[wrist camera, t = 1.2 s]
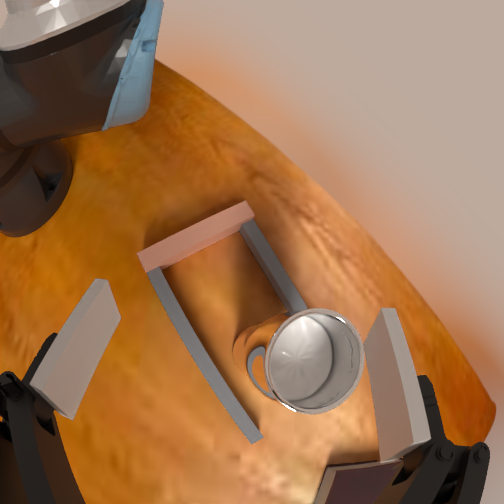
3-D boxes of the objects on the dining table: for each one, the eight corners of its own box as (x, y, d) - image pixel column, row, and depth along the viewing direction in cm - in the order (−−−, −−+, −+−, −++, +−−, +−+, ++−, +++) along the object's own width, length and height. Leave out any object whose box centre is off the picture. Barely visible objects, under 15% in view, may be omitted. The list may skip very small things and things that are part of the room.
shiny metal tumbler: (222, 376, 28) (249, 411, 14) (236, 314, 30) (274, 292, 16) (284, 386, 28) (355, 419, 14) (296, 327, 31) (374, 315, 17)
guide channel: (141, 261, 29) (136, 253, 27) (241, 211, 34) (245, 200, 31) (248, 438, 26) (253, 447, 23) (339, 375, 30) (352, 377, 27)
